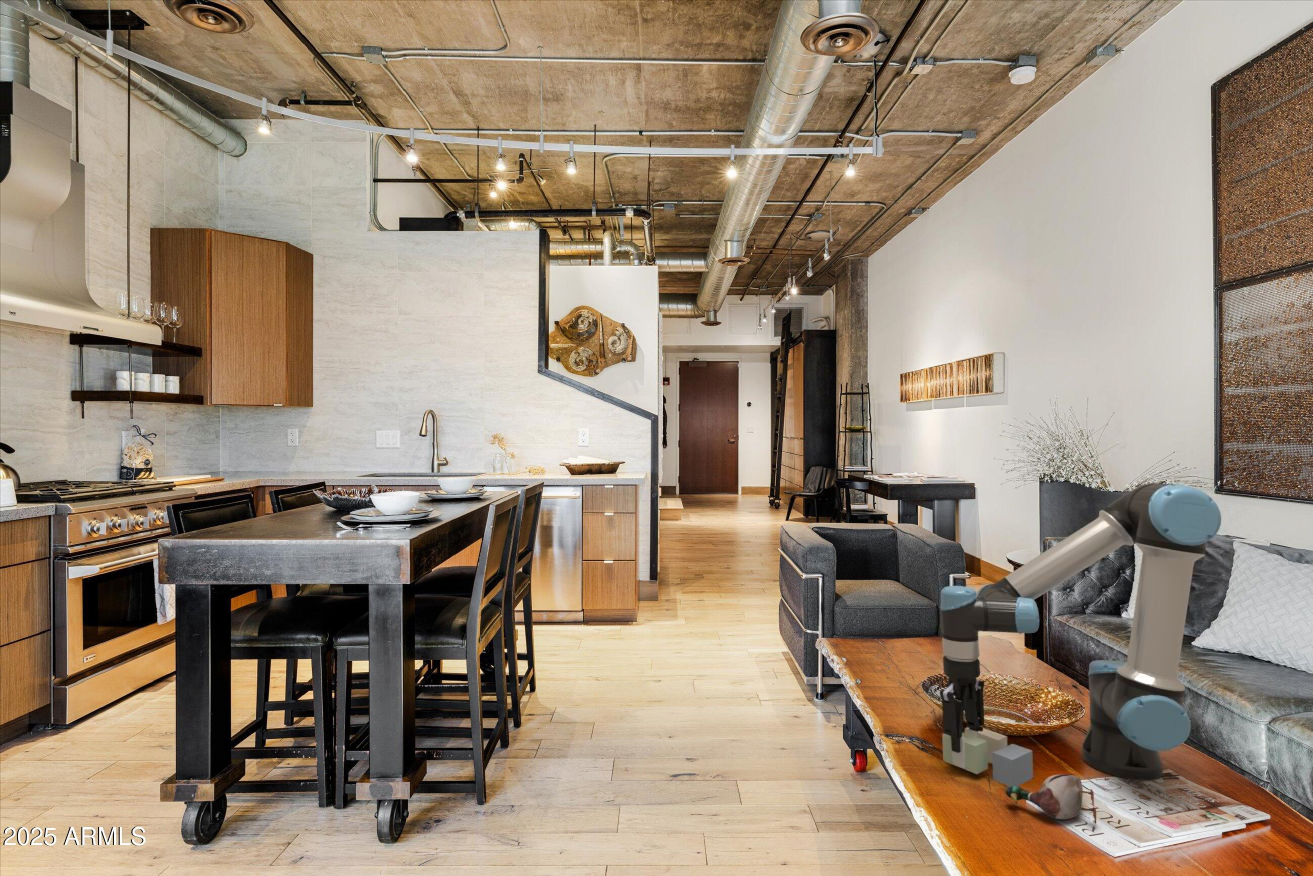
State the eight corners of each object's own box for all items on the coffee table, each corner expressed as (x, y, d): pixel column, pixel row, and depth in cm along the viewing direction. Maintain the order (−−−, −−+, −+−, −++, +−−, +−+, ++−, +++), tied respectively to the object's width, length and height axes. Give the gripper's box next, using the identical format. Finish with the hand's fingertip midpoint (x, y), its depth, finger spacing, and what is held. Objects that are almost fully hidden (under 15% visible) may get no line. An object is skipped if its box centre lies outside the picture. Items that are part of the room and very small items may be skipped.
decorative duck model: (999, 780, 132) (1014, 751, 144) (1004, 819, 132) (1019, 786, 144) (1088, 796, 123) (1097, 763, 135) (1094, 838, 123) (1102, 802, 134)
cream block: (1007, 762, 154) (1007, 736, 154) (998, 766, 152) (998, 740, 152) (974, 750, 161) (974, 725, 161) (965, 754, 159) (965, 728, 159)
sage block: (988, 768, 147) (987, 740, 147) (976, 774, 145) (975, 746, 145) (954, 755, 154) (953, 729, 154) (943, 760, 152) (942, 734, 152)
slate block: (1013, 770, 150) (1012, 743, 150) (1033, 778, 146) (1032, 750, 146) (993, 780, 146) (992, 752, 146) (1013, 788, 142) (1012, 760, 142)
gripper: (967, 646, 158) (972, 747, 157) (922, 660, 148) (927, 767, 148) (998, 653, 152) (1004, 758, 151) (953, 668, 142) (958, 780, 141)
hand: (966, 762), depth 149 cm, fingers closed on sage block, 4 cm apart
